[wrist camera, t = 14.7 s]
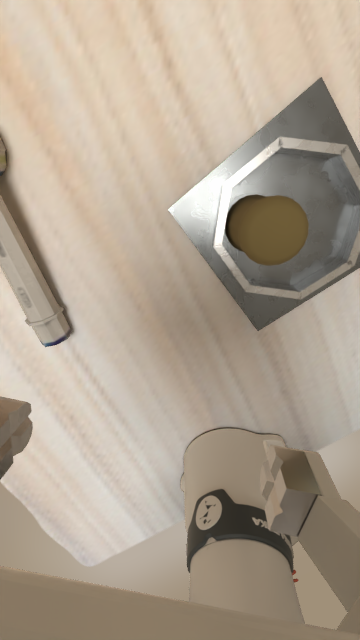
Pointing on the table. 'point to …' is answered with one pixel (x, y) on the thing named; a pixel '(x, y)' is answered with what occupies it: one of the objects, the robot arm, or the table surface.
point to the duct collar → (290, 181)
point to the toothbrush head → (29, 279)
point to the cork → (267, 228)
